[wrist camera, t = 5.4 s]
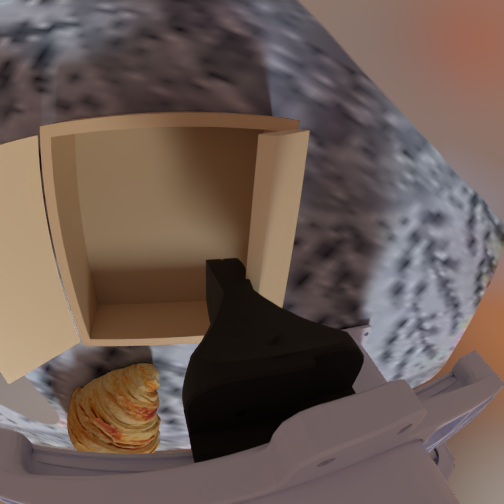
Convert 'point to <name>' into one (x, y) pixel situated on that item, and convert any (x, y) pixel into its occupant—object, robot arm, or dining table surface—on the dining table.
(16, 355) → the flap
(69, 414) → the croissant
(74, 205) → the carton
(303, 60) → the dining table surface
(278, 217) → the flap
